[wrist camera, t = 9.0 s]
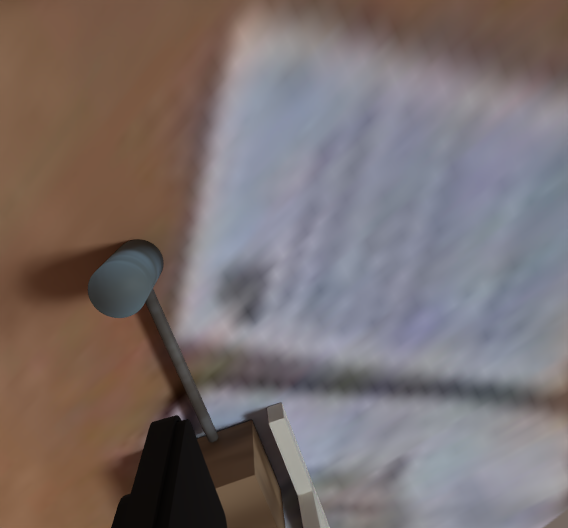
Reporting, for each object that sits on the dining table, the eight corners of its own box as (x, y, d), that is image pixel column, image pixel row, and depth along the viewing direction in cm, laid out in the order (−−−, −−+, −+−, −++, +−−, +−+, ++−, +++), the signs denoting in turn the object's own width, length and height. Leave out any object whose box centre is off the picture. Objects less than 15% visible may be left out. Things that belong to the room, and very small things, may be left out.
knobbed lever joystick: (87, 255, 31) (53, 283, 25) (172, 226, 31) (157, 247, 25) (211, 513, 38) (206, 581, 32) (280, 489, 38) (288, 553, 32)
